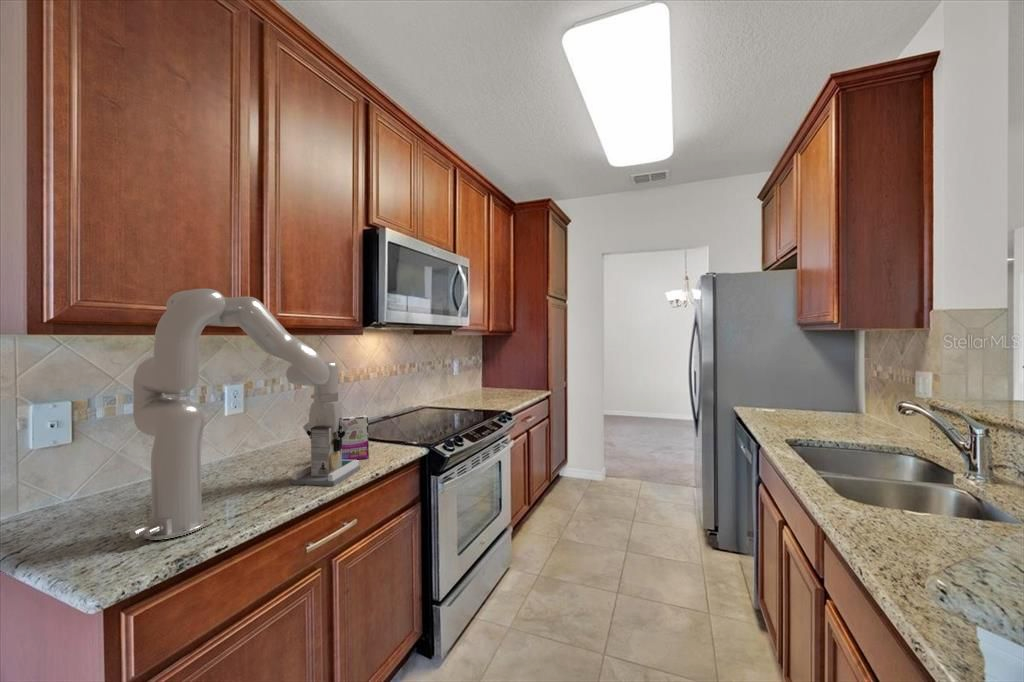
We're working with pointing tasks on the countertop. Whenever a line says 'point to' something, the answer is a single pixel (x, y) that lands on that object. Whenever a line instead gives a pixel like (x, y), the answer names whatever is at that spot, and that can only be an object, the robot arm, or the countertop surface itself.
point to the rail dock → (333, 478)
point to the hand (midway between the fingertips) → (326, 450)
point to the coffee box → (324, 452)
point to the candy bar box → (356, 438)
